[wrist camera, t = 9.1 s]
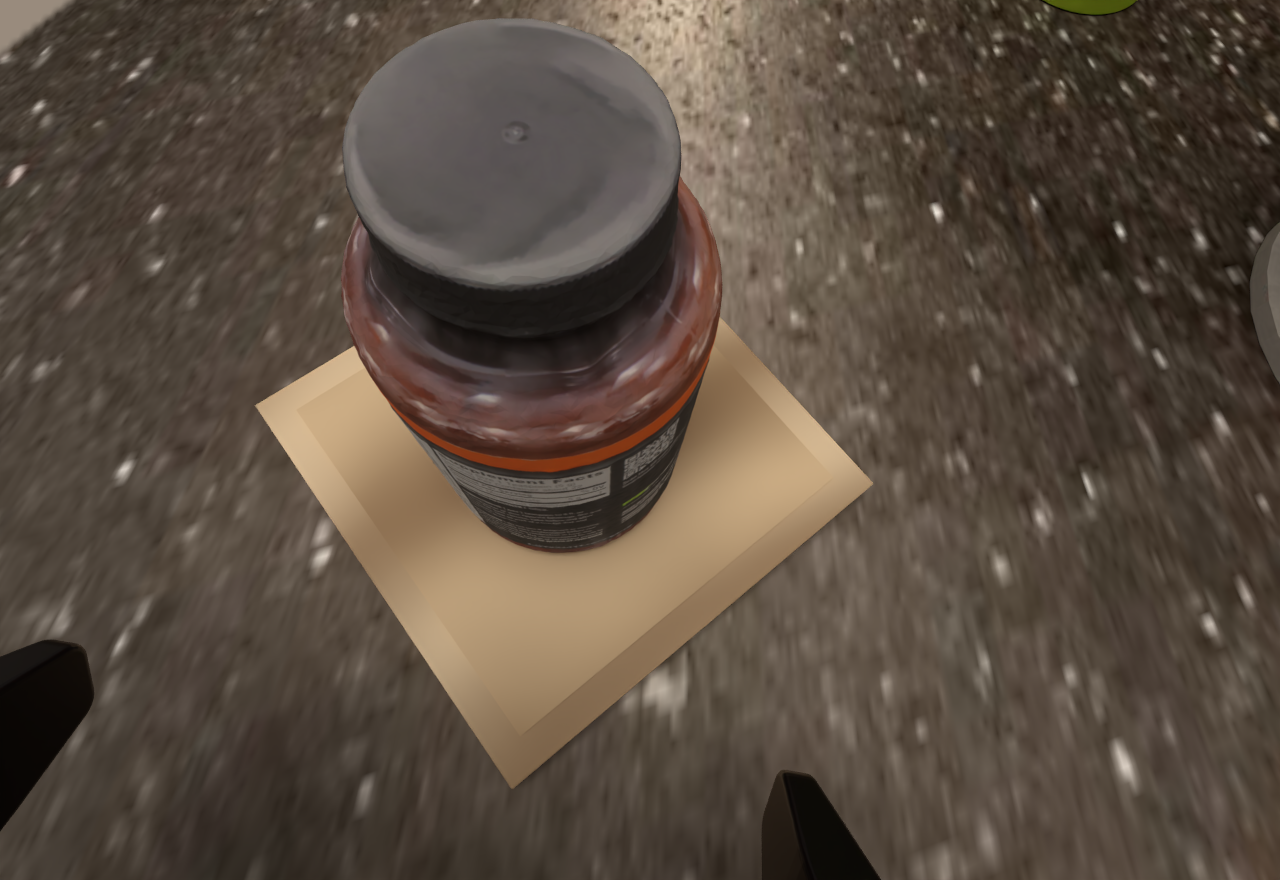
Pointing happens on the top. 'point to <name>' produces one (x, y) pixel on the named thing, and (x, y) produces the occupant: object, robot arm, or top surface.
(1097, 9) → the soap dispenser
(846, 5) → the top surface
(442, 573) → the coaster
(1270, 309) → the mate gourd
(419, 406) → the supplement bottle
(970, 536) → the top surface
